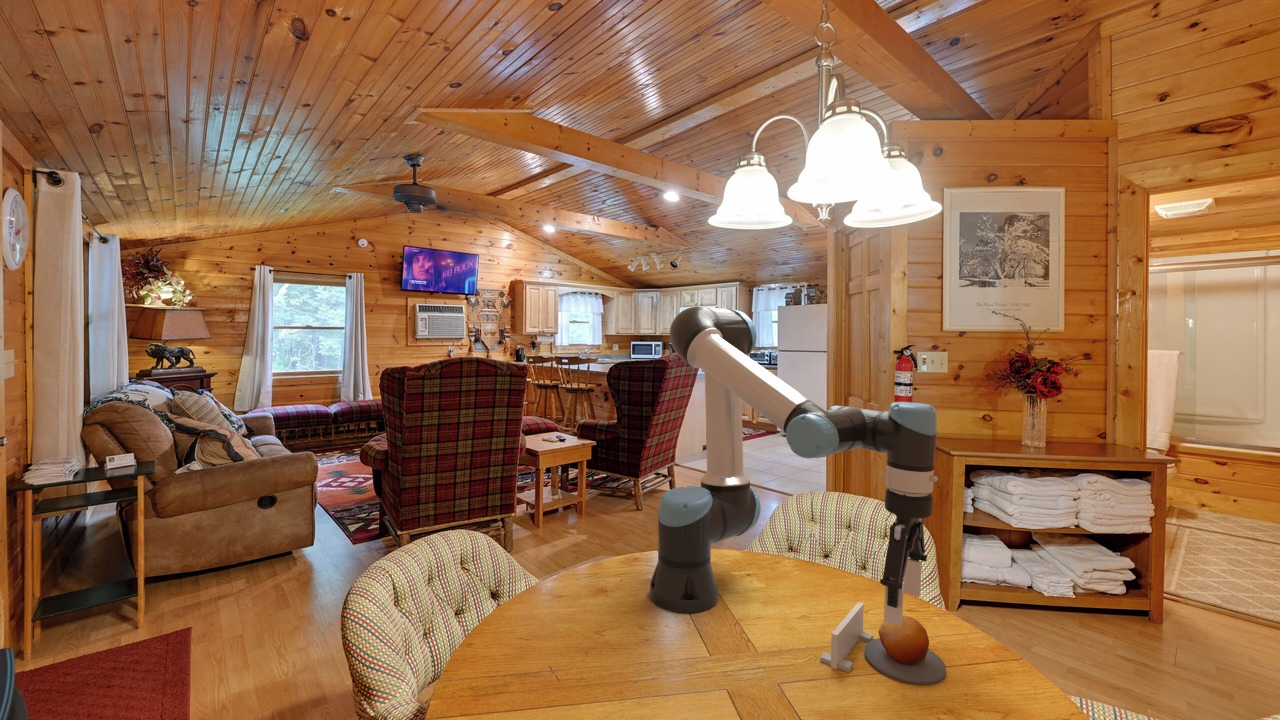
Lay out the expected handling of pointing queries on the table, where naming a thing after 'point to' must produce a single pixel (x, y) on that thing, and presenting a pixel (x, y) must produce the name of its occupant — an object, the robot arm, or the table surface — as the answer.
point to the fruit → (905, 641)
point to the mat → (905, 666)
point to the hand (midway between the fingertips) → (902, 608)
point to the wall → (846, 639)
